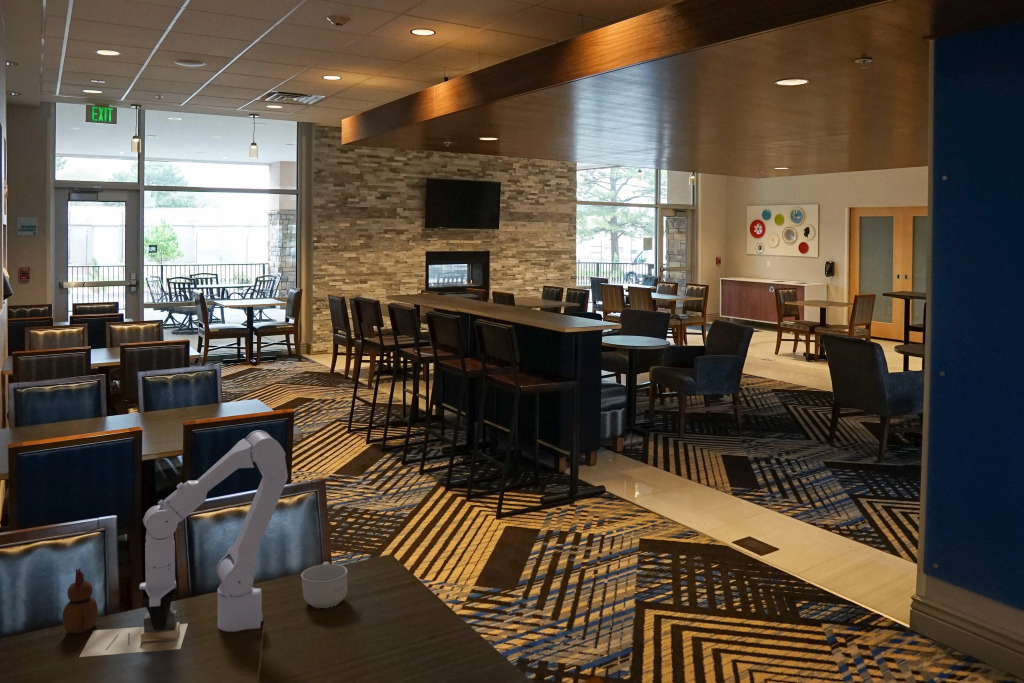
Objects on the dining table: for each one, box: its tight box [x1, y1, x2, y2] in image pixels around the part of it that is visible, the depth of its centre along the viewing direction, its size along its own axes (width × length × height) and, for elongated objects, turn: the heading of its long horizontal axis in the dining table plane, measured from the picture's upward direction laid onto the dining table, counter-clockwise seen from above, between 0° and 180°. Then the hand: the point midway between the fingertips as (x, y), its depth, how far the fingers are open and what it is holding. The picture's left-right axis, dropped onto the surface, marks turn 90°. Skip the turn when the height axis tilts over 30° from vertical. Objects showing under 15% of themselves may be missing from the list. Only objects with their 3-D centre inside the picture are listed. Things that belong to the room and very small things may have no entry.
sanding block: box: [141, 609, 181, 643], centre depth 173 cm, size 7×4×5 cm, turn 105°
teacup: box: [300, 561, 349, 609], centre depth 198 cm, size 14×11×8 cm
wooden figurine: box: [62, 568, 99, 634], centre depth 176 cm, size 7×6×15 cm
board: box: [78, 623, 189, 658], centre depth 173 cm, size 19×12×1 cm, turn 104°
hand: (160, 625), depth 173 cm, fingers closed on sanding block, 3 cm apart
